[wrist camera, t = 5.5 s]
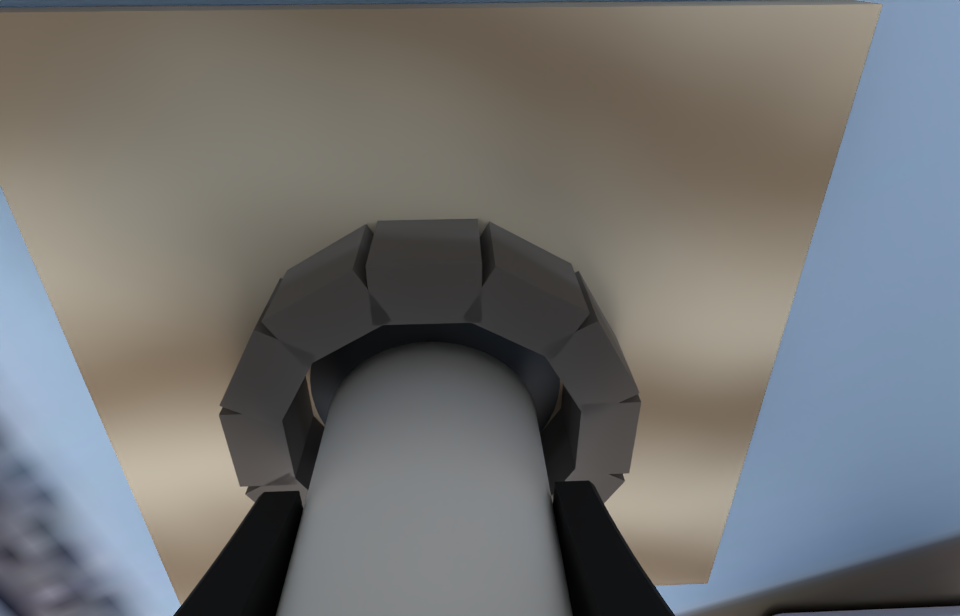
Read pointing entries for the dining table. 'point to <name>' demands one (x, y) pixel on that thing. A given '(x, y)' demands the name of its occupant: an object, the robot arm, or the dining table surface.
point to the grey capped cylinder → (428, 495)
